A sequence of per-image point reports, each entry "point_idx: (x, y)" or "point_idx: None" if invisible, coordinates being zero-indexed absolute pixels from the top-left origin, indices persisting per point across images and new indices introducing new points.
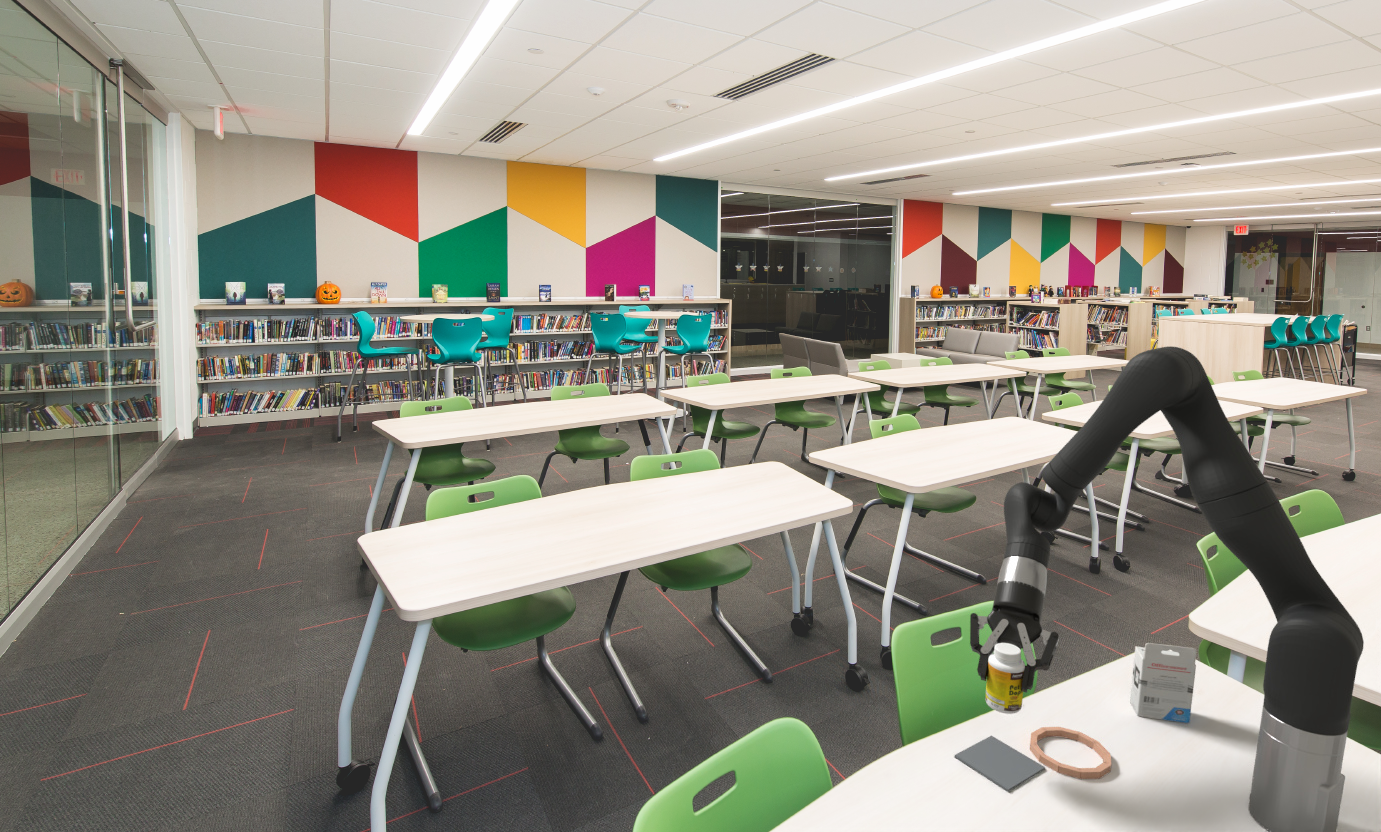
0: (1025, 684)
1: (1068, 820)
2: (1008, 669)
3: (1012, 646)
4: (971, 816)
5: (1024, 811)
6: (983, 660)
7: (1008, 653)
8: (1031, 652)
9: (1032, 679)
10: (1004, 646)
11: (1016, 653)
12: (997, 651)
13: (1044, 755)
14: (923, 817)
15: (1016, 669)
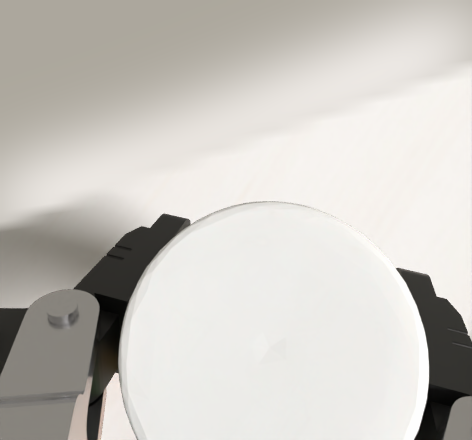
0: (164, 219)
1: (146, 176)
2: (264, 201)
3: (204, 427)
4: (329, 125)
5: (226, 173)
6: (453, 346)
7: (270, 213)
8: (7, 391)
9: (112, 250)
10: (306, 399)
11: (181, 244)
12: (386, 258)
13: None
14: (420, 91)
15: (205, 216)
